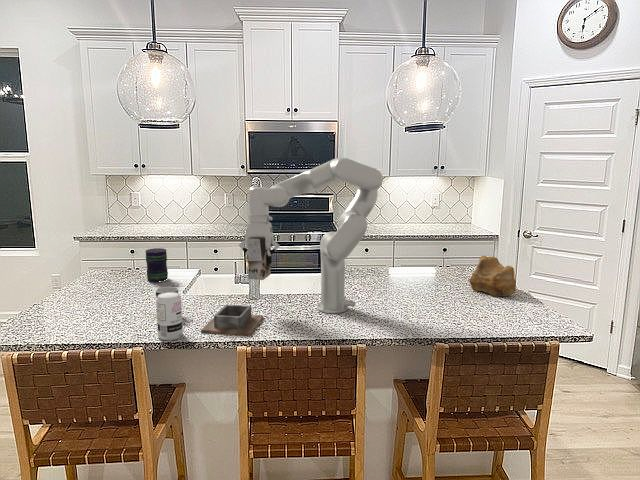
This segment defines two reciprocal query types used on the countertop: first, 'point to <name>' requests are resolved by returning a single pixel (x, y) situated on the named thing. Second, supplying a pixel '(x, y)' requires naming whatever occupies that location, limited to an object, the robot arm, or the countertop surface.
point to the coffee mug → (166, 290)
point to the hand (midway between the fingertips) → (259, 264)
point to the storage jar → (156, 264)
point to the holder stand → (233, 321)
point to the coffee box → (257, 259)
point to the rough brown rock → (493, 277)
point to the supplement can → (169, 316)
